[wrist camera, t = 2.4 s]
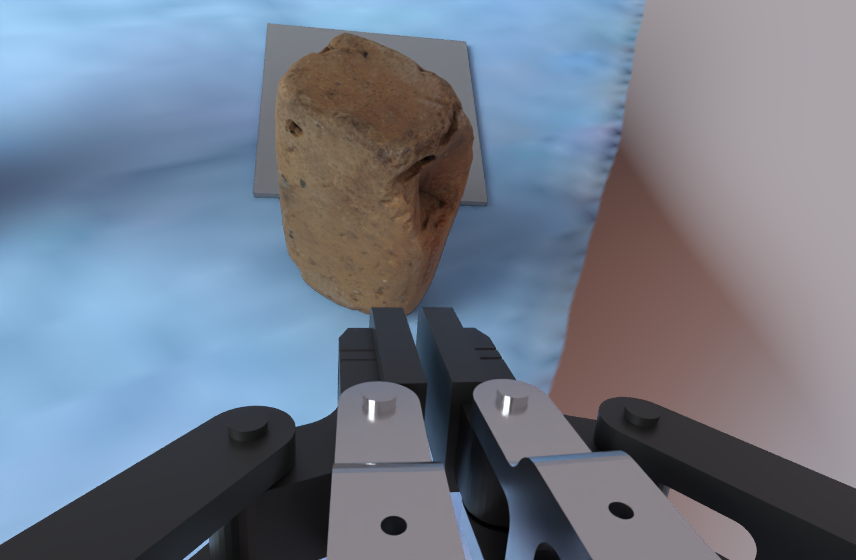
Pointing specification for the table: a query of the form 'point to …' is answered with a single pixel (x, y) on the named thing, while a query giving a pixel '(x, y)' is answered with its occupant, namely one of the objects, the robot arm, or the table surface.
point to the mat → (428, 53)
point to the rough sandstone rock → (368, 171)
